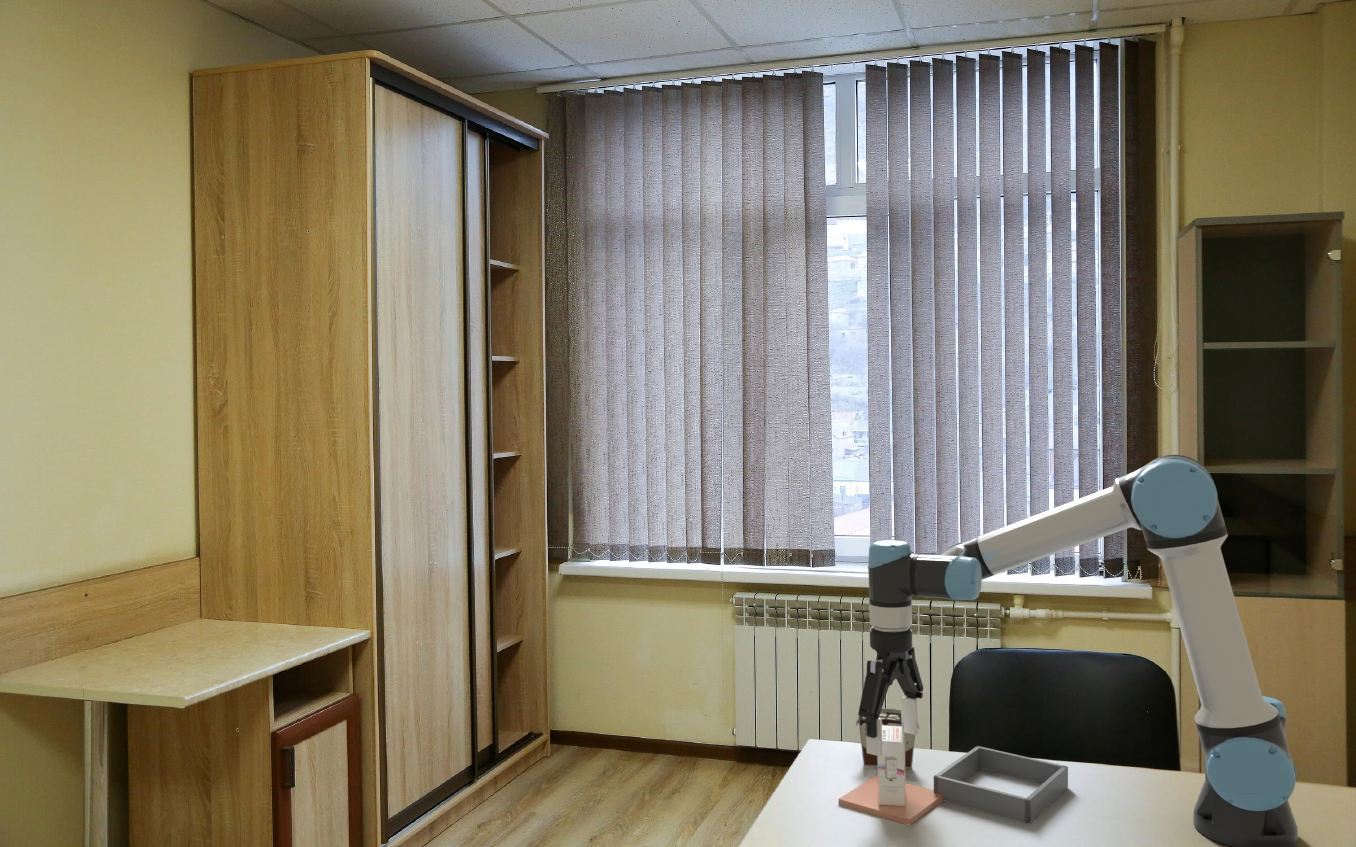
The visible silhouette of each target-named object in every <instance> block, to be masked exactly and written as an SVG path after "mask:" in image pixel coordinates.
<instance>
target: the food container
mask: <svg viewBox="0 0 1356 847" xmlns="http://www.w3.org/2000/svg"><path fill="white" fill-rule="evenodd" d="M901 711H902V709H895V708H884V707H882V709H881V712H880V715H879V718H882V725H884V726H902V722H901V721H902V715H901ZM857 726H859V727H858V728H859V729H858V730H859V737H860V744H861V745H860V746H861V753H862V763H863V767H876V768H878V759H877V755H872V754H868V753H867V742H866V718H865V717H860V716H859V715H858V717H857V719H856V724H855V727H857ZM918 730H920V726H919V724H918ZM904 737H905V769H913V760H914V758H913V757H914V750H915V740H916V735H914V734H910V733H905V732H904Z"/></svg>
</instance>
